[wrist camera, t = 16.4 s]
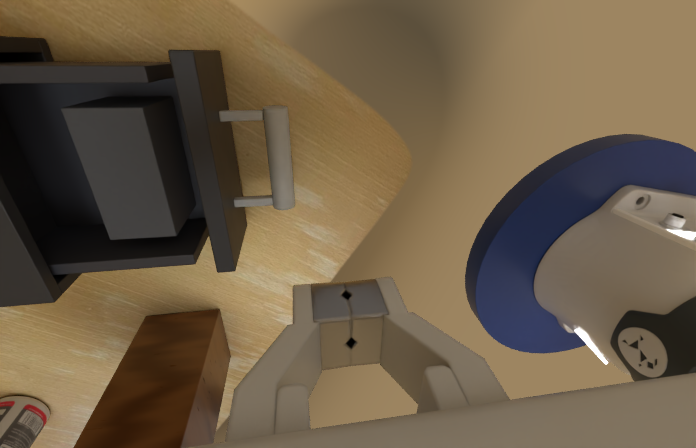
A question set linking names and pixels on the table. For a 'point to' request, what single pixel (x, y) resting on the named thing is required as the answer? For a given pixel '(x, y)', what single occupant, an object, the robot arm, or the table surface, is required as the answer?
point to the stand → (164, 386)
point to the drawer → (72, 184)
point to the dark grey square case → (9, 226)
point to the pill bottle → (21, 421)
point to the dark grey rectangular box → (133, 163)
